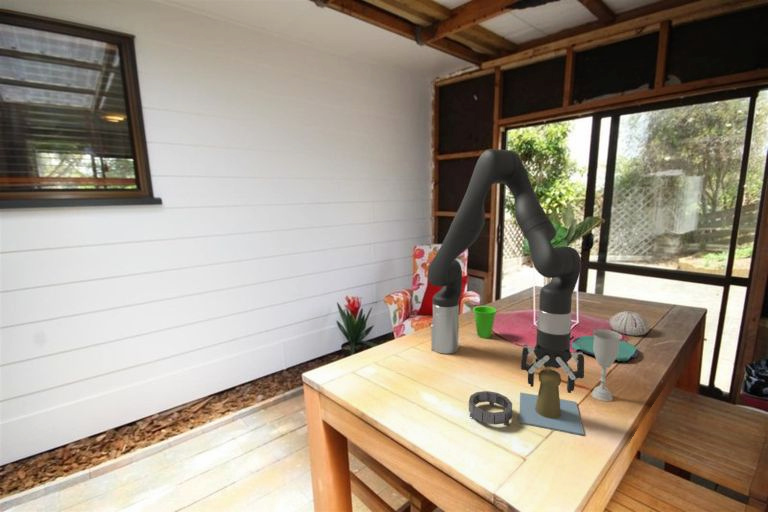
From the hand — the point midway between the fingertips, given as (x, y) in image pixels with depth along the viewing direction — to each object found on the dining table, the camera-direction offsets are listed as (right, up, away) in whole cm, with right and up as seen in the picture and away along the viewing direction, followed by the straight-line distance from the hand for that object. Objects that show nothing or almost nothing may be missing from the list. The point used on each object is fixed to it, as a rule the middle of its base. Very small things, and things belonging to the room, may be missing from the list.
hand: (550, 388), depth 90 cm
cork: (0, -6, +1) cm, 7 cm away
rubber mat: (0, -7, +1) cm, 7 cm away
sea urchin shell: (+56, +3, +53) cm, 78 cm away
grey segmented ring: (-15, -7, +1) cm, 17 cm away
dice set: (+9, -3, +28) cm, 30 cm away
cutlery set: (+33, 0, +40) cm, 52 cm away
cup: (-2, +2, +52) cm, 52 cm away
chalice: (+18, -5, +8) cm, 20 cm away
